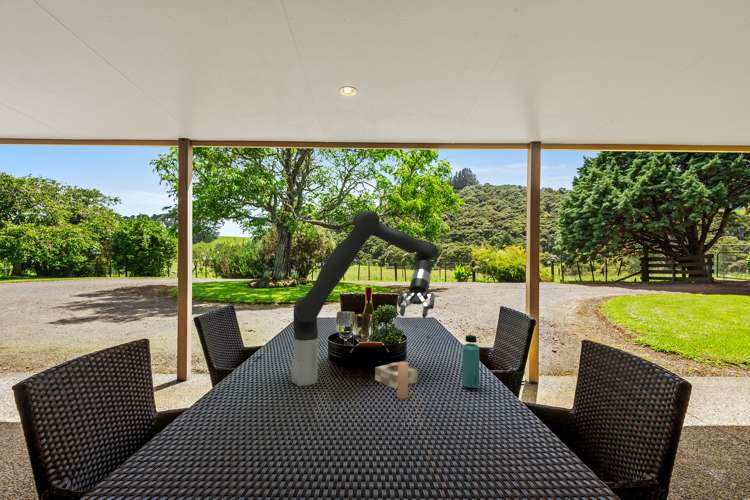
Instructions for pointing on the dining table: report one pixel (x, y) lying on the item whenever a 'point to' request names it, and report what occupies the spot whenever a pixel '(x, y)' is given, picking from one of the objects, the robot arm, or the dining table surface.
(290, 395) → the dining table surface
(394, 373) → the socket
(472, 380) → the beverage bottle
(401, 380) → the peg
